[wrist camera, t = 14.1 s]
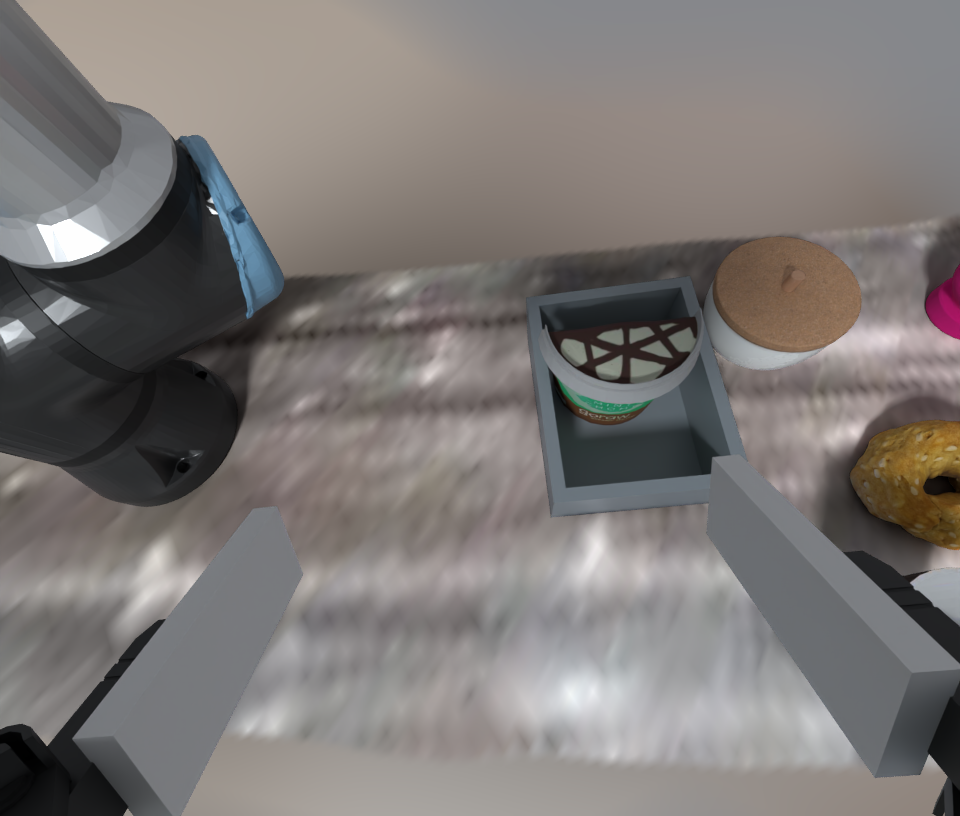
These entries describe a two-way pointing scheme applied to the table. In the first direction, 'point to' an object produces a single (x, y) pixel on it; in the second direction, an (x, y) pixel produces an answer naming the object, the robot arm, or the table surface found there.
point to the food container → (620, 365)
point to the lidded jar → (779, 303)
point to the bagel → (913, 479)
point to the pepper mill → (946, 306)
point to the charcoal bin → (646, 438)
